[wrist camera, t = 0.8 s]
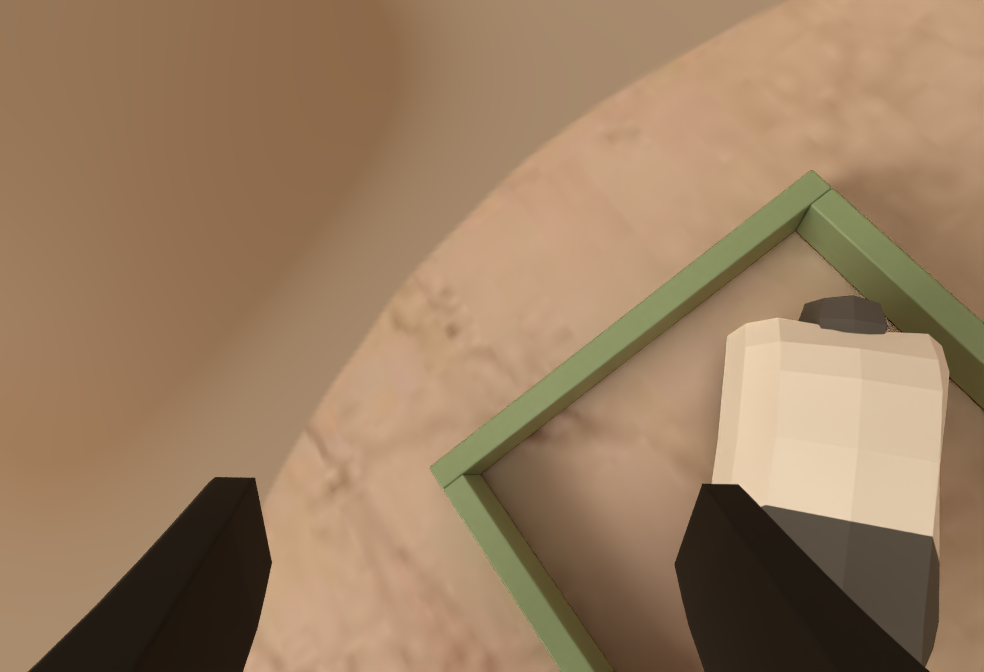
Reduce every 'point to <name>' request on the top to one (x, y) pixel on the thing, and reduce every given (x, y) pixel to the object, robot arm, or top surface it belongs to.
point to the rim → (803, 206)
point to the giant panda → (845, 452)
